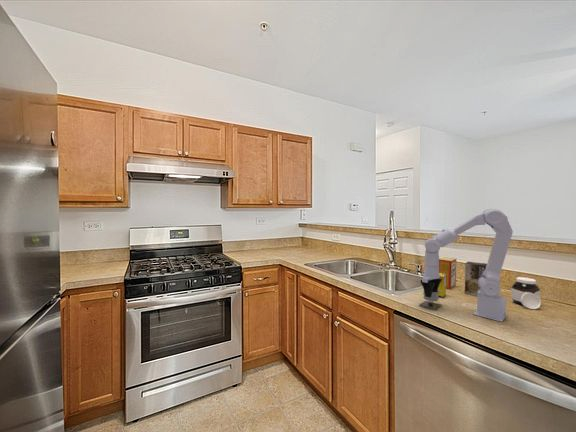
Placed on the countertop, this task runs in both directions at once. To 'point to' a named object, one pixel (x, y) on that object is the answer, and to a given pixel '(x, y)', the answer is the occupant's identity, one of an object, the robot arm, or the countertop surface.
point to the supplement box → (442, 286)
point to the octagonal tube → (432, 296)
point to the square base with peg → (430, 305)
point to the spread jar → (526, 293)
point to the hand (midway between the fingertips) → (430, 295)
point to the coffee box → (473, 277)
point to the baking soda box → (448, 271)
